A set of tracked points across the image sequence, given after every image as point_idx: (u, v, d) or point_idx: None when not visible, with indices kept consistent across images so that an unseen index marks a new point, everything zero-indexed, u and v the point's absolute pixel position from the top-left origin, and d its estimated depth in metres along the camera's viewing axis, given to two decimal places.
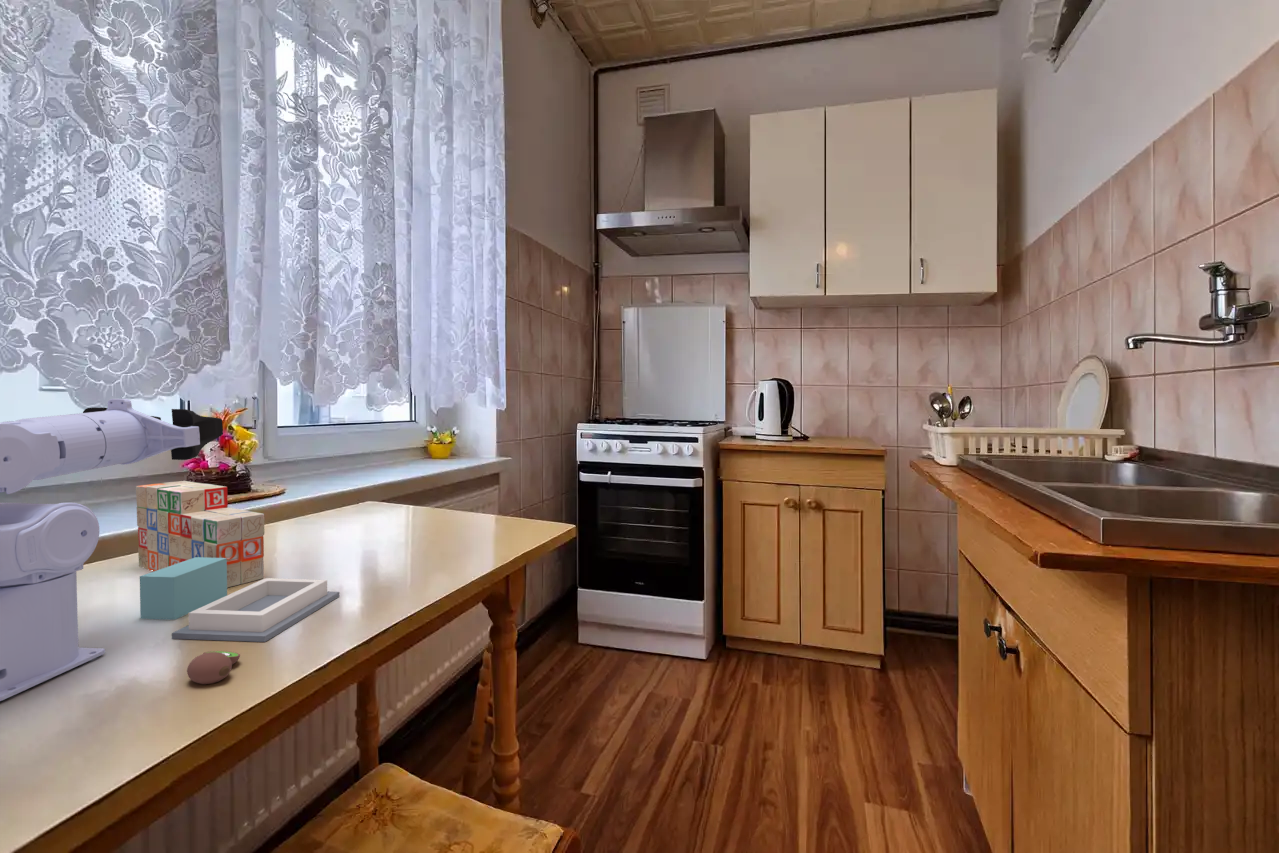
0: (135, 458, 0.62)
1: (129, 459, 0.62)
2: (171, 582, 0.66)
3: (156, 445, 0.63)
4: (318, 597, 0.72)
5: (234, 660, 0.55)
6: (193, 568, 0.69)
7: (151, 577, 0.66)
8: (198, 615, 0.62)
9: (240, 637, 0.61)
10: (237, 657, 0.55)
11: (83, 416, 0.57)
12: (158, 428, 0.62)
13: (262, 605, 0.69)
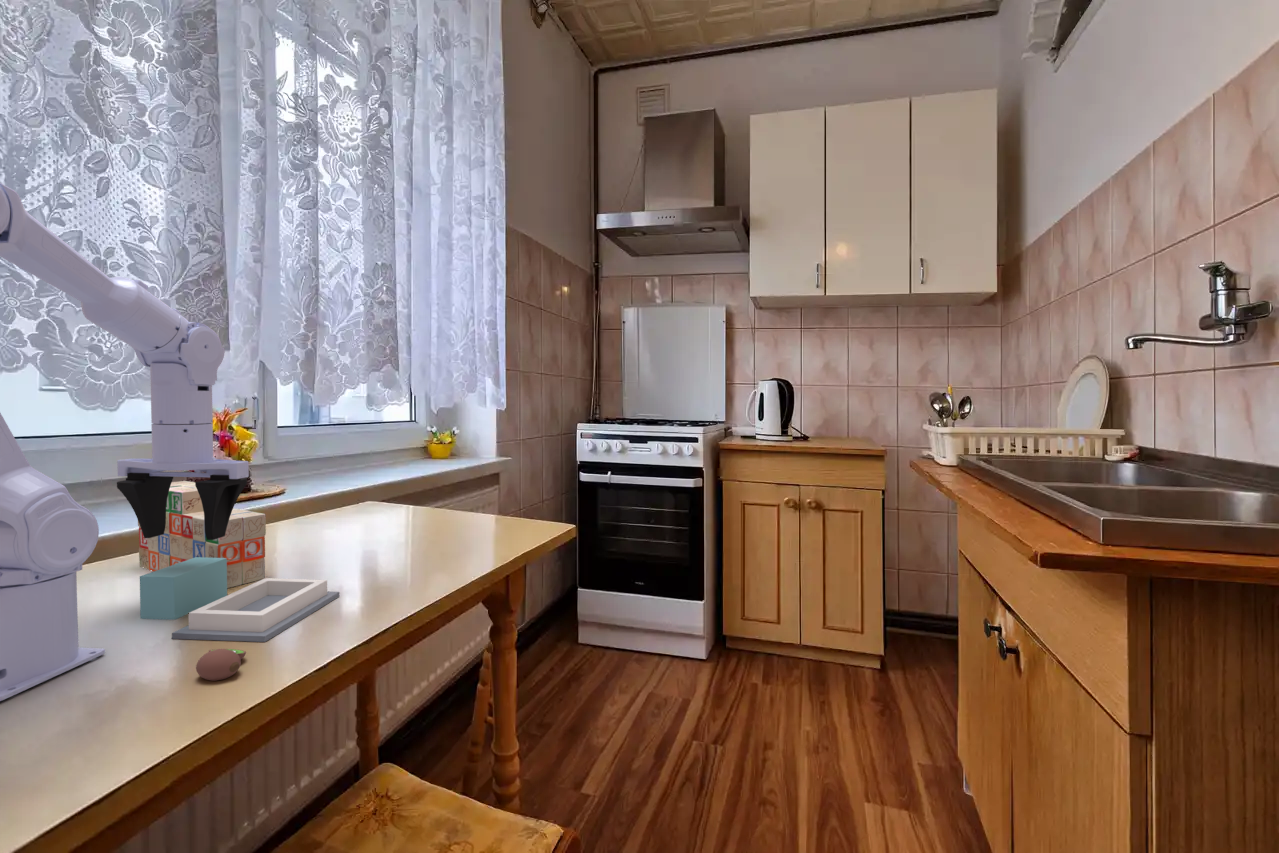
0: (182, 461, 0.67)
1: (180, 456, 0.67)
2: (171, 582, 0.66)
3: None
4: (318, 597, 0.72)
5: (241, 657, 0.56)
6: (193, 568, 0.69)
7: (151, 577, 0.66)
8: (198, 615, 0.62)
9: (240, 637, 0.61)
10: (243, 654, 0.56)
11: None
12: None
13: (262, 605, 0.69)
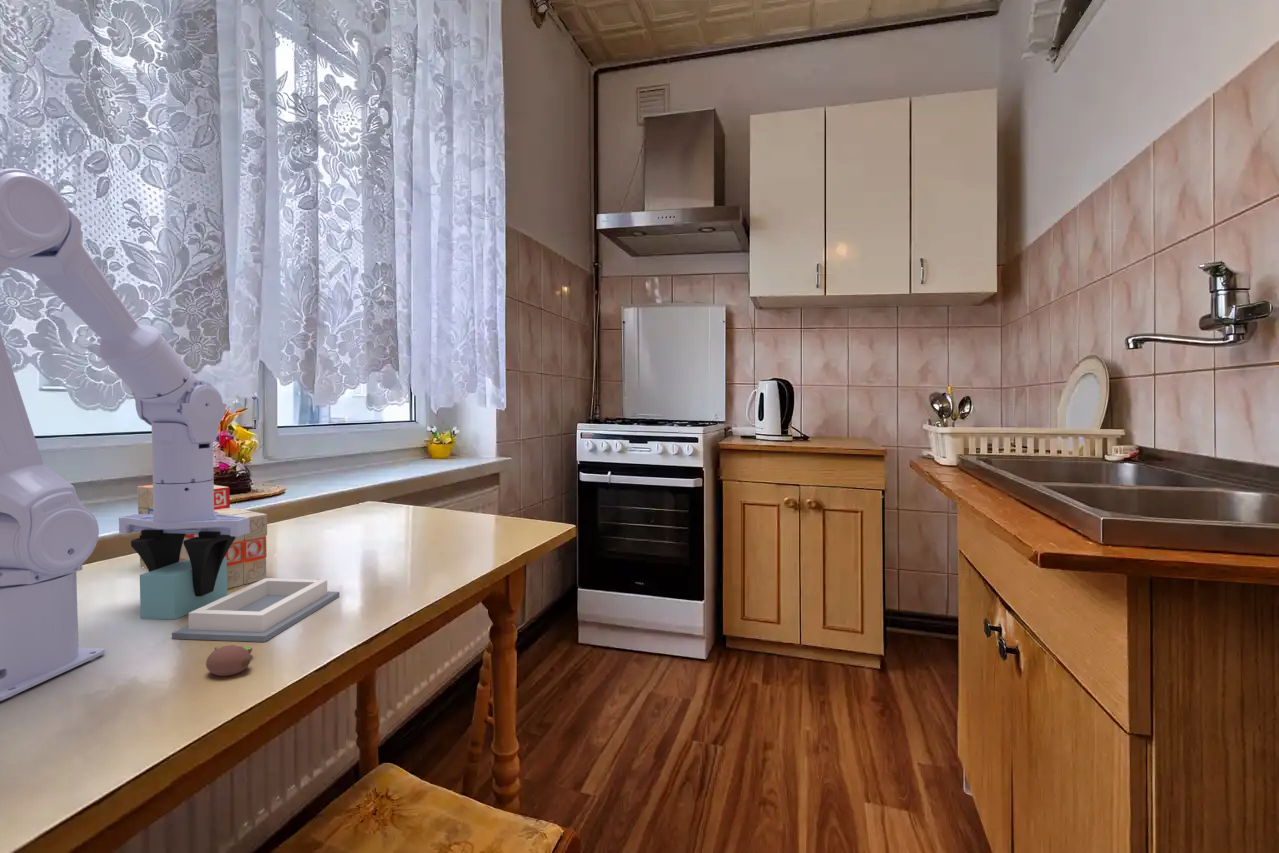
0: (183, 519, 0.67)
1: (181, 514, 0.67)
2: (171, 581, 0.66)
3: None
4: (318, 597, 0.72)
5: (248, 653, 0.56)
6: None
7: (151, 576, 0.66)
8: (198, 615, 0.62)
9: (240, 637, 0.61)
10: (250, 650, 0.57)
11: None
12: None
13: (262, 605, 0.69)
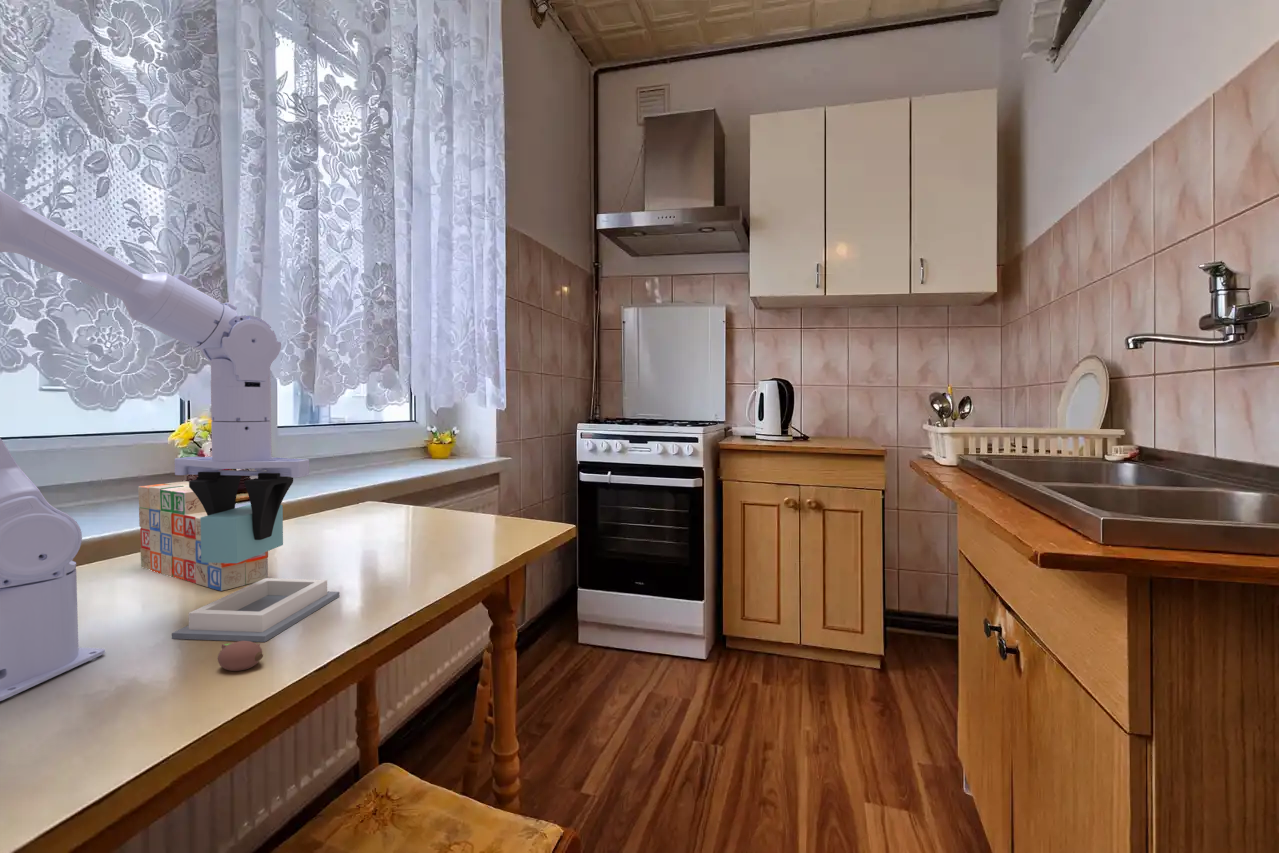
0: (243, 459, 0.65)
1: (242, 454, 0.65)
2: (233, 523, 0.64)
3: None
4: (318, 597, 0.72)
5: None
6: None
7: (212, 518, 0.64)
8: (198, 615, 0.62)
9: (240, 637, 0.61)
10: (258, 645, 0.58)
11: None
12: None
13: (262, 605, 0.69)
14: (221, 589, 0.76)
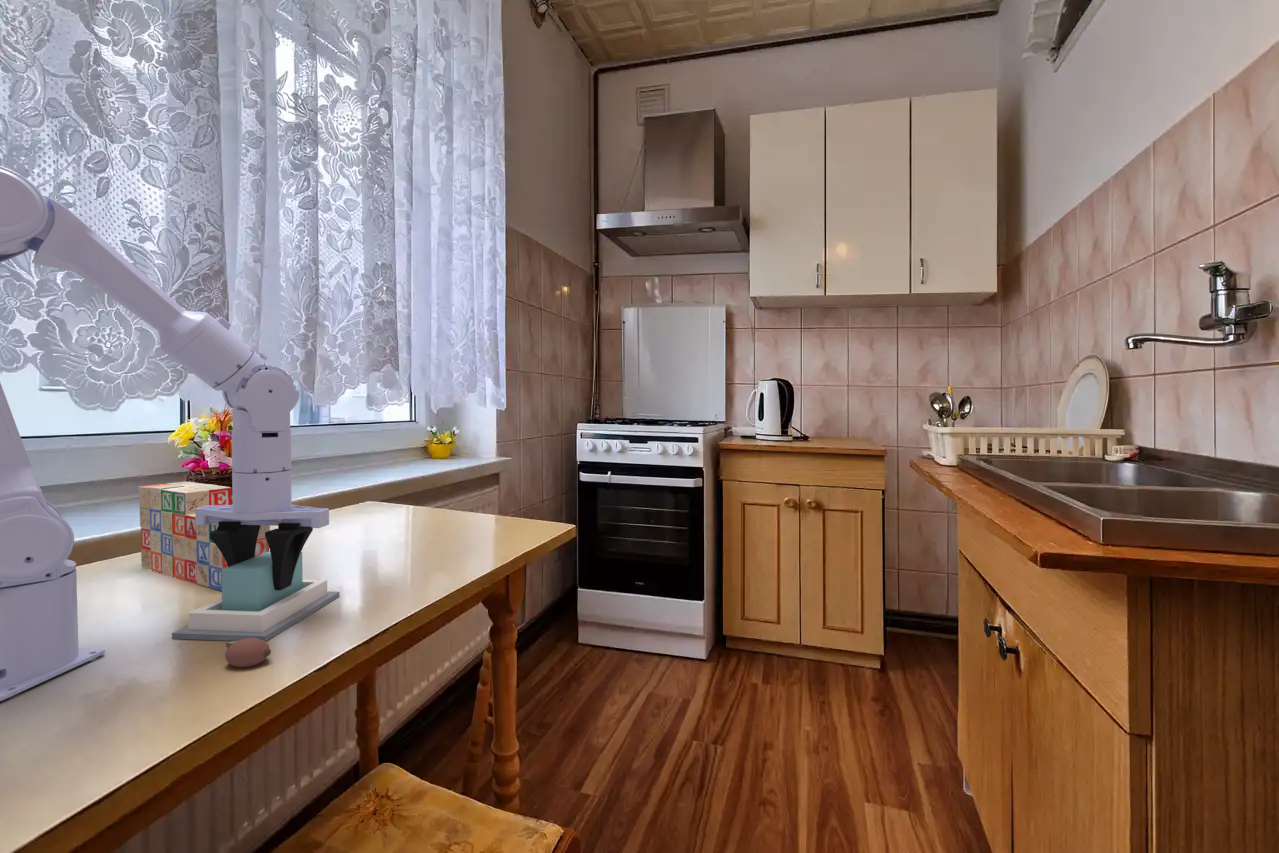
0: (264, 510, 0.65)
1: (262, 505, 0.65)
2: (254, 576, 0.64)
3: None
4: (318, 597, 0.72)
5: None
6: None
7: (233, 571, 0.64)
8: (198, 615, 0.62)
9: (240, 637, 0.61)
10: None
11: None
12: None
13: None
14: None
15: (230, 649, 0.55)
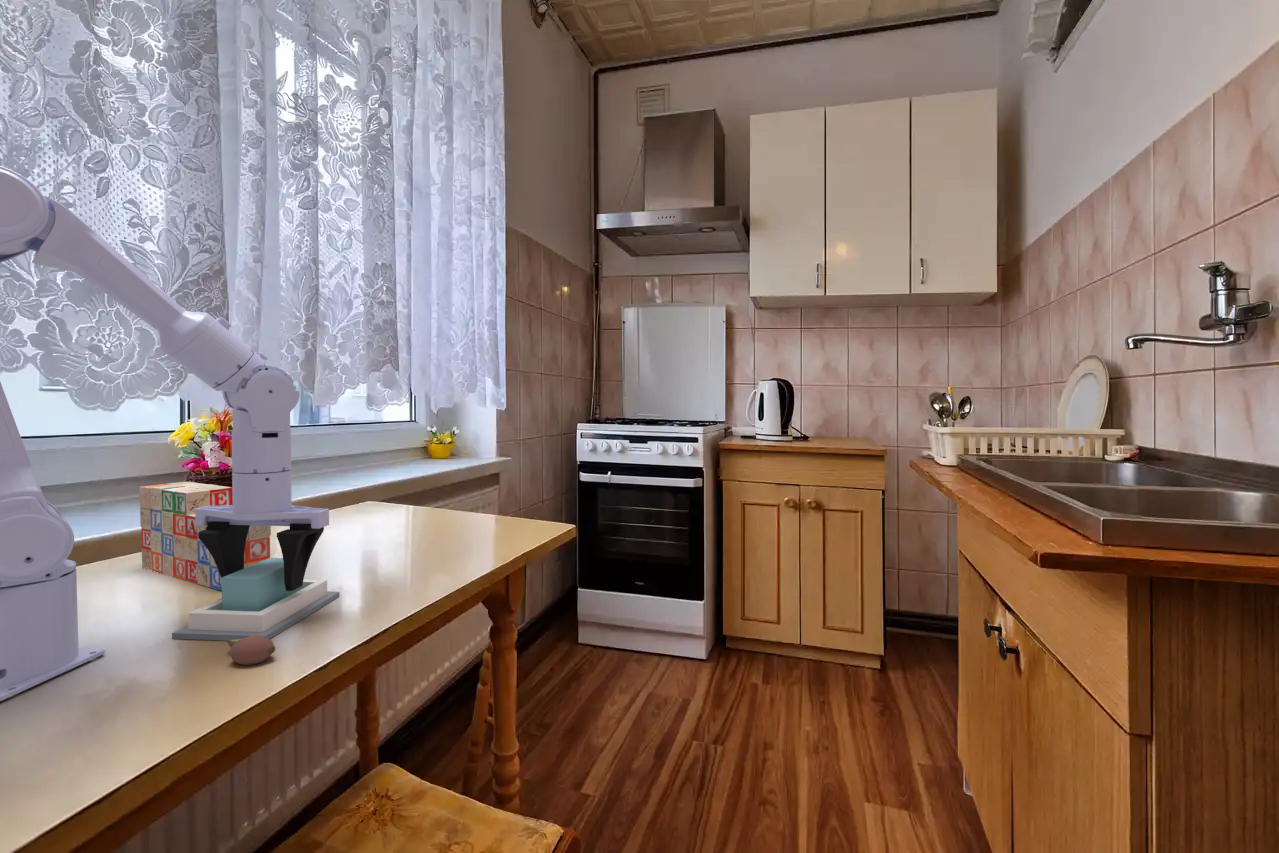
0: (264, 510, 0.65)
1: (262, 505, 0.65)
2: (254, 584, 0.64)
3: None
4: (318, 597, 0.72)
5: None
6: (273, 569, 0.67)
7: (233, 578, 0.64)
8: (198, 615, 0.62)
9: (240, 637, 0.61)
10: None
11: None
12: None
13: None
14: None
15: (235, 647, 0.55)
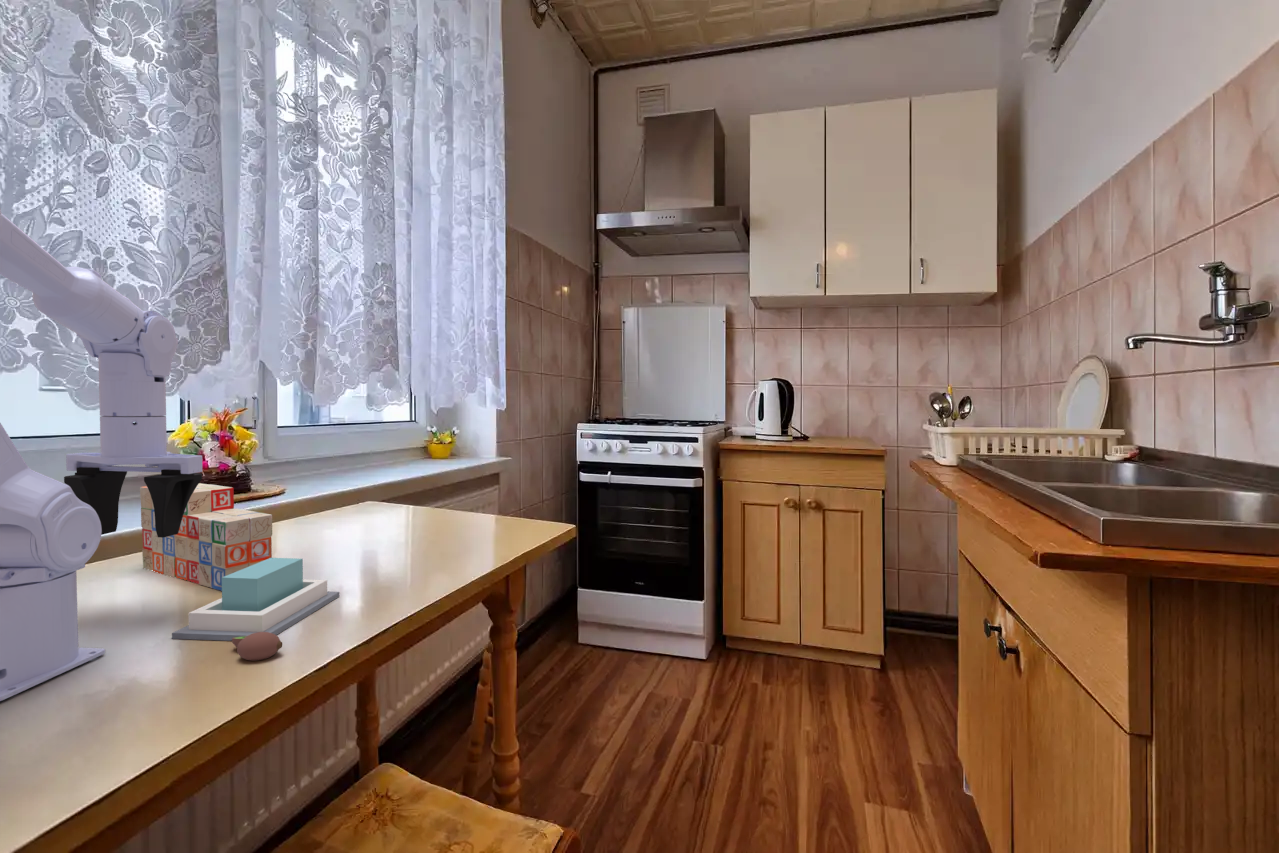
0: (131, 454, 0.64)
1: (129, 449, 0.64)
2: (254, 584, 0.64)
3: None
4: (318, 597, 0.72)
5: None
6: (273, 569, 0.67)
7: (233, 578, 0.64)
8: (198, 615, 0.62)
9: None
10: None
11: None
12: None
13: None
14: None
15: (243, 643, 0.56)
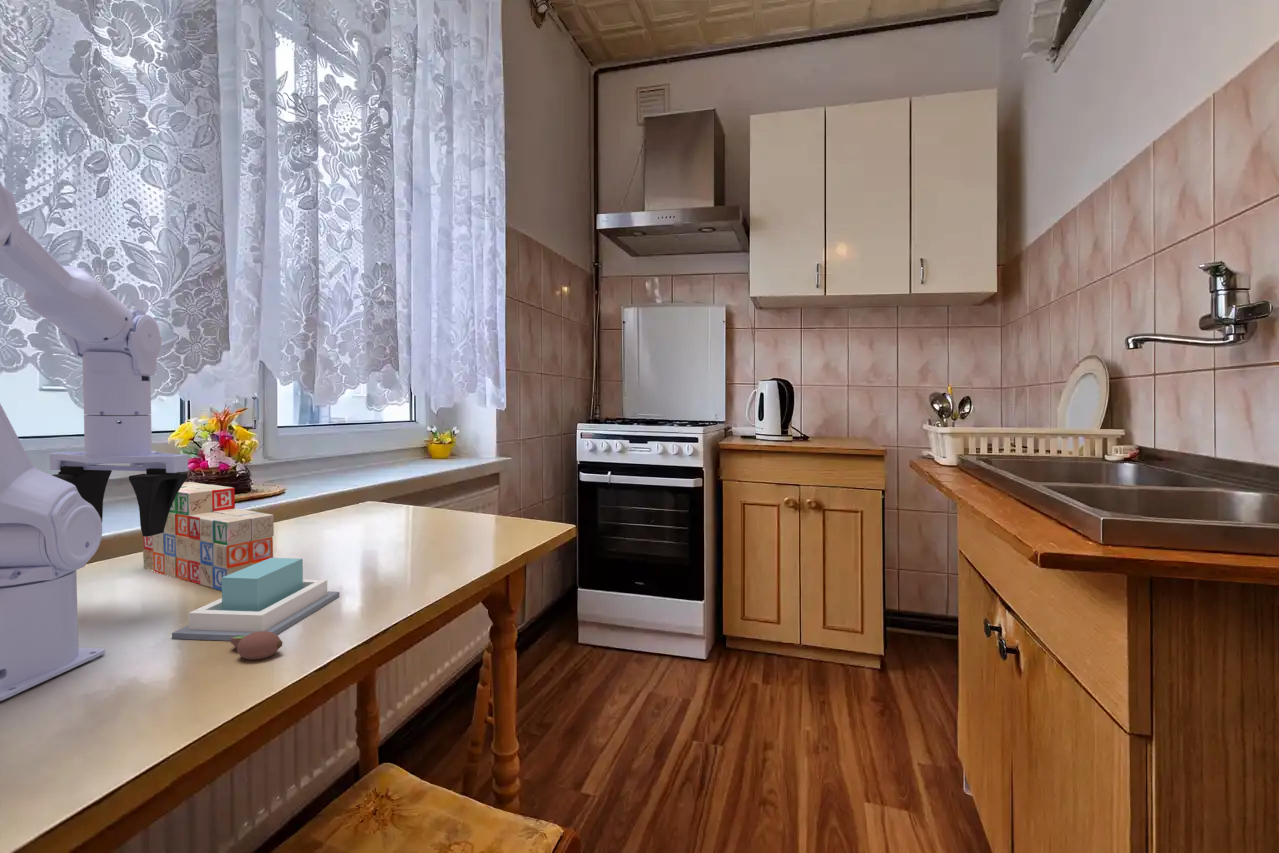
0: (115, 453, 0.64)
1: (113, 448, 0.64)
2: (254, 584, 0.64)
3: None
4: (318, 597, 0.72)
5: None
6: (273, 569, 0.67)
7: (233, 578, 0.64)
8: (198, 615, 0.62)
9: None
10: None
11: None
12: None
13: None
14: None
15: (243, 642, 0.56)
